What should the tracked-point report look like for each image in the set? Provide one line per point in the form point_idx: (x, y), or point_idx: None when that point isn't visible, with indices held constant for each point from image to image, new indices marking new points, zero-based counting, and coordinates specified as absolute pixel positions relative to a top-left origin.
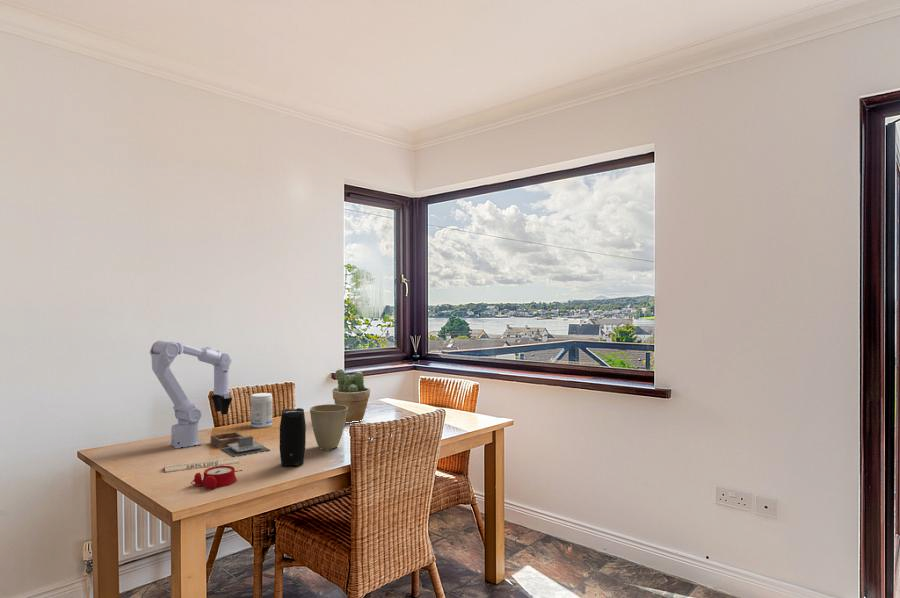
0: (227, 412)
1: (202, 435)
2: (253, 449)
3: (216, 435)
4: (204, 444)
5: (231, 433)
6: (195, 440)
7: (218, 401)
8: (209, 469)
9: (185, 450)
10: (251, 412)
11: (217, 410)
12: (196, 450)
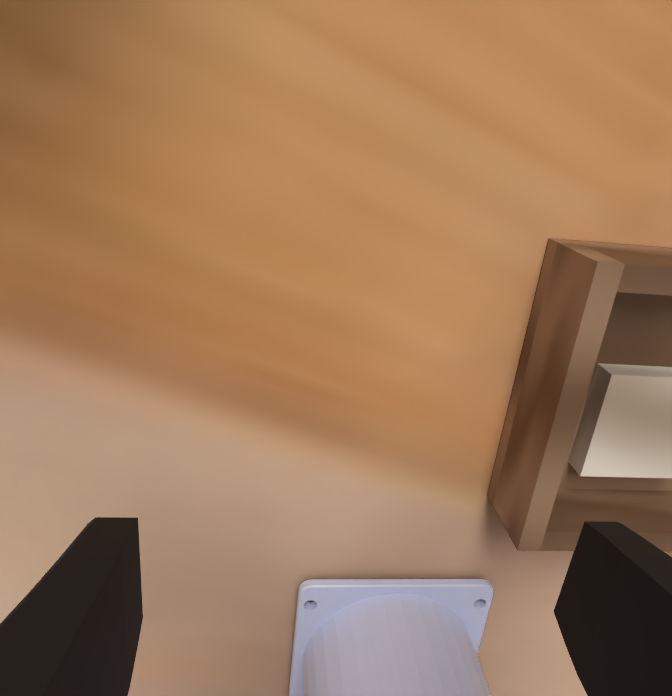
0: (651, 544)
1: (74, 457)
2: None
3: (552, 503)
4: (487, 548)
5: (601, 330)
6: (474, 650)
7: None
8: None
9: (544, 688)
10: None
11: (137, 618)
12: None
